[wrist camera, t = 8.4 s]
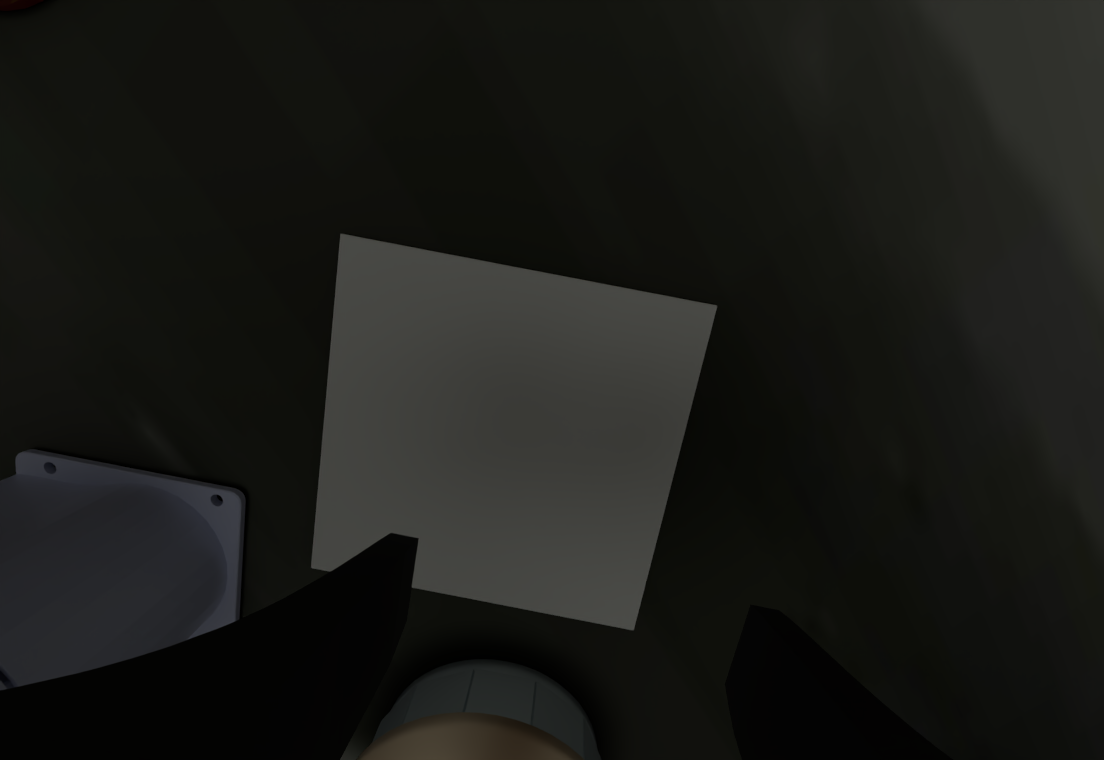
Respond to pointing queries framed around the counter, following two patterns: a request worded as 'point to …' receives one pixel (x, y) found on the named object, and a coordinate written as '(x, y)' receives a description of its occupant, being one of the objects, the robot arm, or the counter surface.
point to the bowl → (496, 700)
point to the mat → (504, 426)
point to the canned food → (17, 4)
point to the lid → (467, 740)
